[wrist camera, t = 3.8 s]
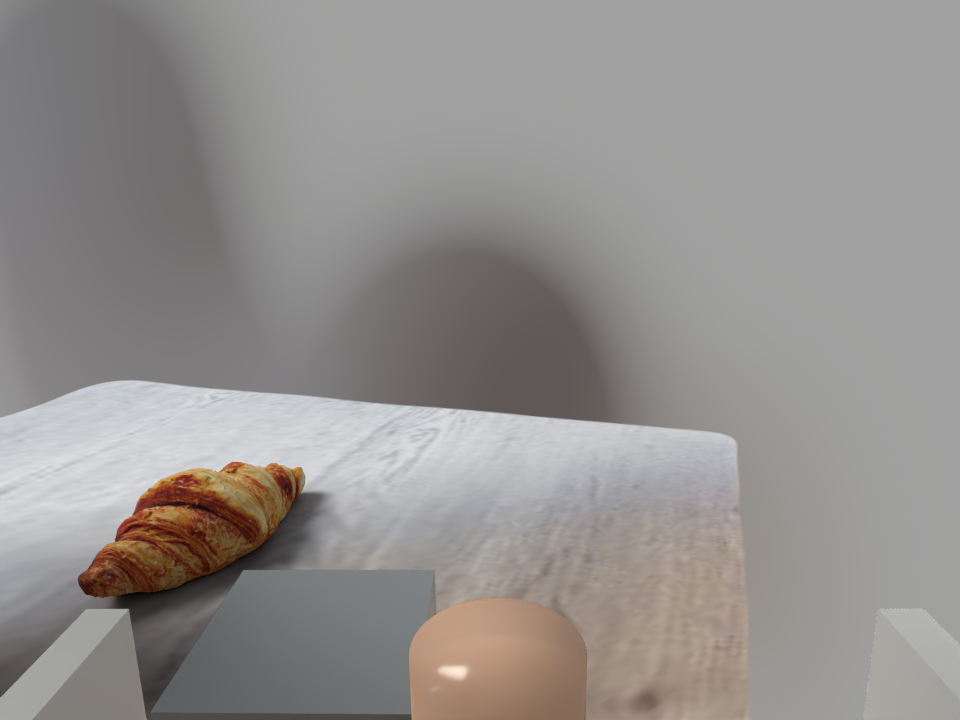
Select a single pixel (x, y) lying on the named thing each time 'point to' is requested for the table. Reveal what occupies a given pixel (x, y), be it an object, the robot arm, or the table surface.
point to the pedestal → (305, 648)
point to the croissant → (193, 527)
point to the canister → (498, 664)
